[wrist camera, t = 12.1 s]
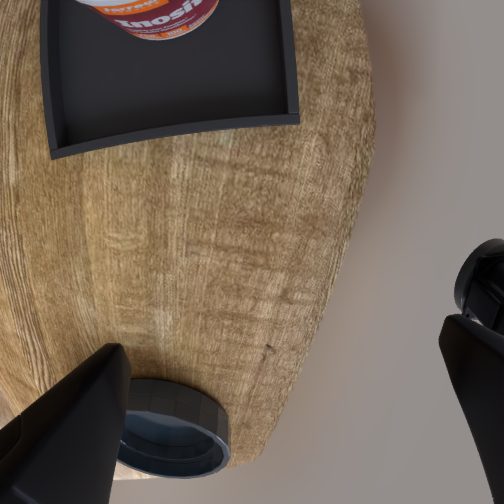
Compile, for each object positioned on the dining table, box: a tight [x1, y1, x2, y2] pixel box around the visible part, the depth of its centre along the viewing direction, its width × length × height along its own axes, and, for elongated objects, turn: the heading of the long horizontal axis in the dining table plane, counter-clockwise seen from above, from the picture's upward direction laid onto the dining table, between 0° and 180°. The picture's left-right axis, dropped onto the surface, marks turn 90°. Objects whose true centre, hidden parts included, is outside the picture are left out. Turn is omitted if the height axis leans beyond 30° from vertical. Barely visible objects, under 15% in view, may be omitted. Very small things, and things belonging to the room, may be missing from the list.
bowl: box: [117, 379, 231, 479], centre depth 27 cm, size 13×13×4 cm
